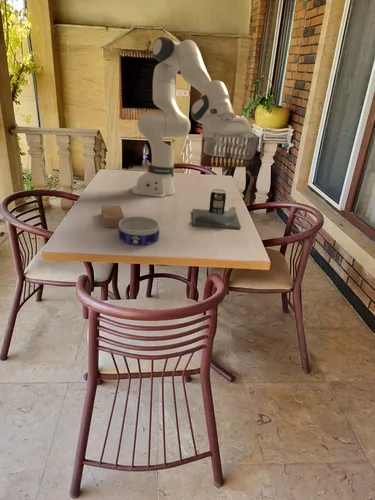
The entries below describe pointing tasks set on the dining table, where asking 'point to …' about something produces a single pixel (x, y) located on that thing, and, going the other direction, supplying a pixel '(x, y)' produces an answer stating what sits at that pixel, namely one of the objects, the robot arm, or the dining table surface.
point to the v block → (216, 219)
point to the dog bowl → (139, 230)
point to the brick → (111, 215)
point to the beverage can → (217, 201)
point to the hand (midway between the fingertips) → (231, 145)
